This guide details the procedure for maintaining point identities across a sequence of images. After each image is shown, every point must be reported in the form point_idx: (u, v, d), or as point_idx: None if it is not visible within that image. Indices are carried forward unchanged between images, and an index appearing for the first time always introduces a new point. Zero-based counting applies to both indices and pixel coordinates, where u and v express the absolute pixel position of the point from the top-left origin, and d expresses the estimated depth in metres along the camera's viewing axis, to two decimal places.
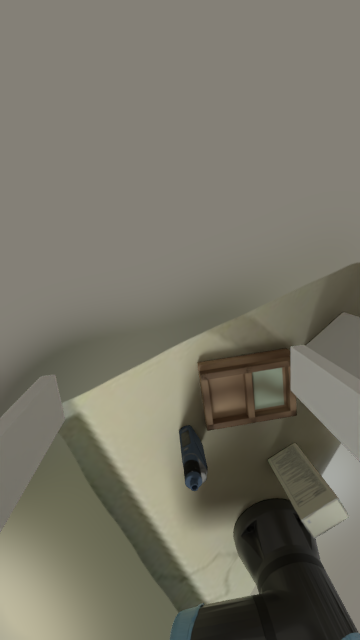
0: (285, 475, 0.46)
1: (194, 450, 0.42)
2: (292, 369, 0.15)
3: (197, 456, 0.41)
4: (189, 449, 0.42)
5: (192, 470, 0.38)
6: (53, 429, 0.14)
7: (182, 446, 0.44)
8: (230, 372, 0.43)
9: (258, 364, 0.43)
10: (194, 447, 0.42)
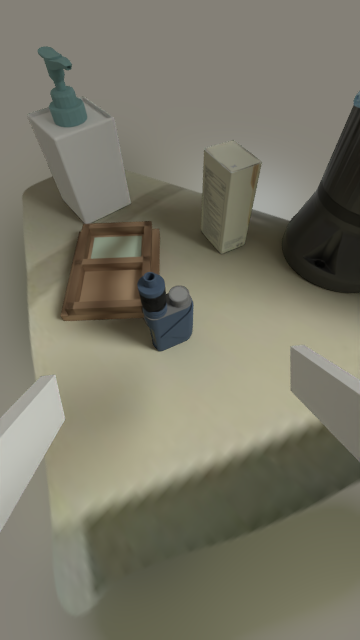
0: (218, 221, 0.37)
1: None
2: (292, 369, 0.15)
3: None
4: None
5: None
6: (53, 430, 0.14)
7: (154, 331, 0.29)
8: (74, 278, 0.35)
9: None
10: None
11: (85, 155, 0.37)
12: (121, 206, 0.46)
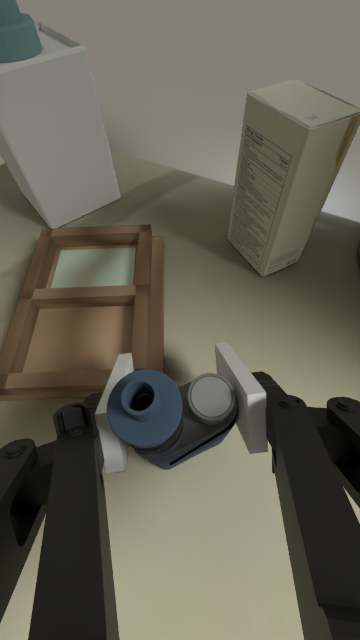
0: (264, 225, 0.22)
1: None
2: (216, 363, 0.17)
3: None
4: None
5: None
6: None
7: None
8: (15, 325, 0.20)
9: None
10: None
11: (38, 113, 0.22)
12: (106, 202, 0.31)
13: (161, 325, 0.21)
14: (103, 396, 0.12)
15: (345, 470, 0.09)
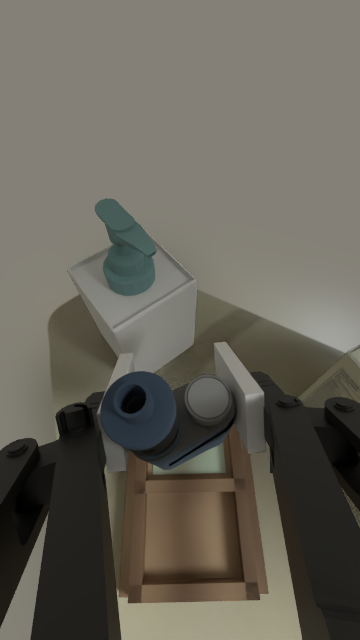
0: None
1: None
2: (215, 363, 0.17)
3: None
4: None
5: None
6: None
7: None
8: (137, 525, 0.23)
9: (136, 464, 0.26)
10: None
11: (151, 329, 0.25)
12: (182, 351, 0.34)
13: (257, 516, 0.25)
14: None
15: (342, 470, 0.09)
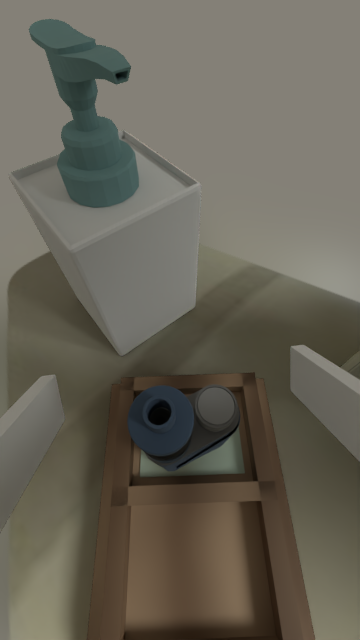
0: None
1: None
2: (292, 369, 0.15)
3: None
4: None
5: None
6: (53, 429, 0.14)
7: None
8: (113, 556, 0.15)
9: (115, 462, 0.18)
10: None
11: (134, 263, 0.17)
12: (180, 315, 0.26)
13: (293, 537, 0.17)
14: None
15: None
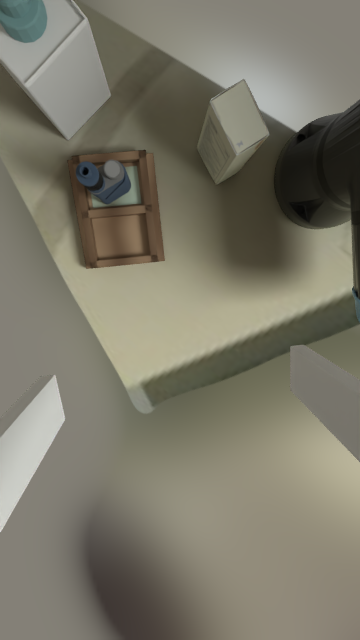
0: (217, 166, 0.37)
1: None
2: (292, 369, 0.15)
3: None
4: None
5: None
6: (53, 429, 0.14)
7: None
8: (87, 235, 0.40)
9: (79, 201, 0.39)
10: None
11: (60, 81, 0.29)
12: (101, 104, 0.38)
13: (160, 226, 0.41)
14: None
15: None
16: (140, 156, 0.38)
